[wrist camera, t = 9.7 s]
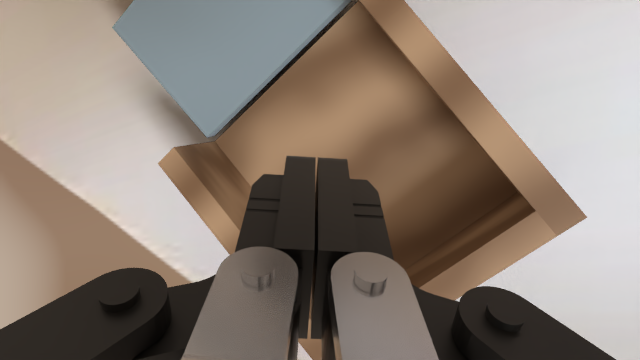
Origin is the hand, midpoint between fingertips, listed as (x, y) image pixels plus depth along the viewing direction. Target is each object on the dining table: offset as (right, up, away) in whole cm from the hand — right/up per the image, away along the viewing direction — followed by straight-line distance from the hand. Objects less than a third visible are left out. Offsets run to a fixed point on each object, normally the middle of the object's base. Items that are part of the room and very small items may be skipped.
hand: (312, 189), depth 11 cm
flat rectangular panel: (-2, +7, +18) cm, 19 cm away
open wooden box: (+3, +1, +19) cm, 20 cm away
